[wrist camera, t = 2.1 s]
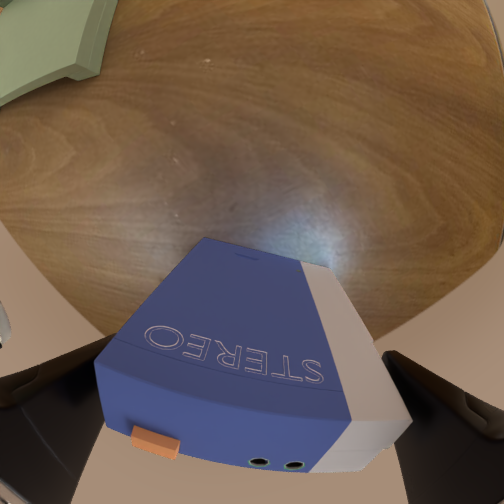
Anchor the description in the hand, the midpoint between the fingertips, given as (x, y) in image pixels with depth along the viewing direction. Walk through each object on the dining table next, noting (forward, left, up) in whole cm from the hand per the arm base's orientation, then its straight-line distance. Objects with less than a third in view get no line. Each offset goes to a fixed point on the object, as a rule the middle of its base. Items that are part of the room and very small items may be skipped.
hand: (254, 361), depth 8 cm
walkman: (0, 0, -8) cm, 9 cm away
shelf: (+20, +19, -8) cm, 29 cm away
